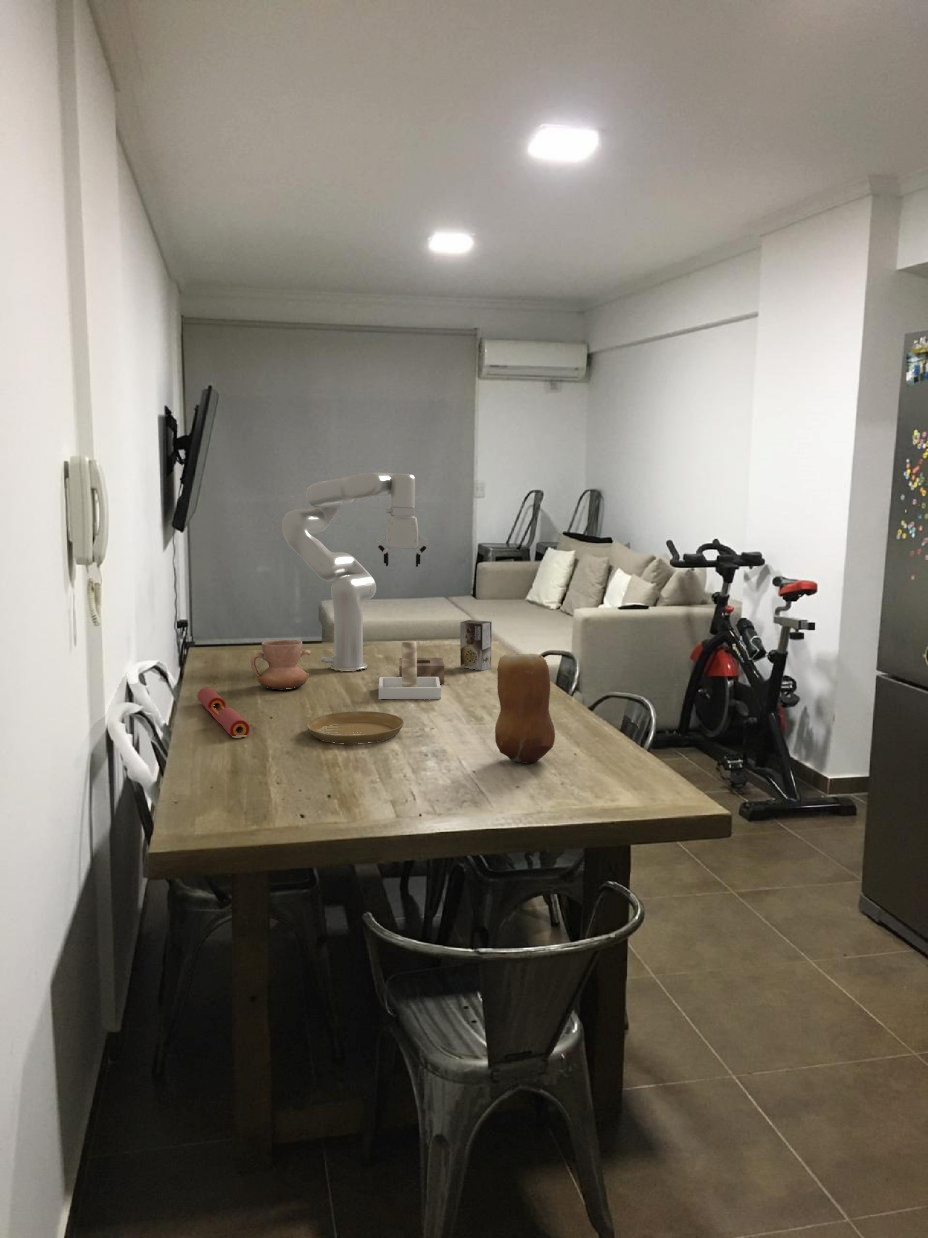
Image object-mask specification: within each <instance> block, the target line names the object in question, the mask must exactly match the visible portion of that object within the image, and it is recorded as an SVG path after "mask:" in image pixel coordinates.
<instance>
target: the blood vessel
mask: <svg viewBox="0 0 928 1238" xmlns="http://www.w3.org/2000/svg"><path fill="white" fill-rule="evenodd" d="M197 700H198V702H199V701H200V702H201V703H202V704H203V705H204V706H205V707H204V706H203V705H202V704H201V703H200V702H199V703H200V704H201V705H202V706H203V707H204V708H205V709H206V711H207V712H208V711H209V712H210V713H211V714H212V715H211V714H210V713H209V712H208V713H209V714H210V715H211V716H212V717H213V718H214V719H215V720H216V722H218V724H219V723H220V724H221V725H222V726H223V727H222V726H221V725H220V724H219V725H220V726H221V727H222V728H223V729H224V730H225V731H226V733H228V735H231V736H236V735H247V734H248V735H249V733H250V731H251V729H250V724H249V723H248V721H247V720H245V719H244V718H243V717H242V716H241V715H240V714H239V713H238V712H237V710H235V709H233V708H232V707H228V706H227V703H226V701H225V700H224V699H223V698H222V697H221V696H220V695H219V694H218V693H217V692H216V691H215V690H214V689H213V688H211V687H208V686H206V687H202V688H200V690H198V693H197ZM213 705H215V706H213ZM215 708H216V709H215ZM231 736H230V737H231Z"/></svg>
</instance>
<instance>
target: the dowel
mask: <svg viewBox="0 0 928 1238" xmlns="http://www.w3.org/2000/svg"><path fill="white" fill-rule="evenodd" d="M417 643H418V642H417V641H415V640H405V641H401V658H402V687H417V658H418V655H417V654H418V653H417V649H418V648H417V646H418V645H417Z"/></svg>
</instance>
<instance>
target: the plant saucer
mask: <svg viewBox="0 0 928 1238" xmlns="http://www.w3.org/2000/svg"><path fill="white" fill-rule="evenodd" d="M404 723H405V721H404V719H403V718H401V717H400V716H398V715H395V714H391V713H387V712H386V713H385V712H382V711H381V712H380V711H371V710H370V711H368V710H367V711H365V710H364V711H363V710H361V711H360V710H359V711H358V710H356V711H353V710H352V711H341V712H333V713H328V714H324V715H320V716H317V717H314V718H312V719H310V720H309V721H308V722H307V724H306V728H307V730H308V731H309V732H310V734H311V735H312V736H313V737H314V738H316V739H318V740H319V739H320V741H322V740H324V741H323V742H325V741H327V742H326V743H329V742H335V743H344V744H343V745H348V744H355V745H359V744H358V743H368V742H376V743H378V742H377V741H381V742H383V741H382V740H384V741H387V740H389V739H391V738H393V737H394V736H396V735H398V733H399V732H401V730H402V728H403V727H404ZM333 724H339V725H333ZM340 724H341V725H340ZM330 725H333V726H341V727H338V728H327V729H338V730H332V731H327V732H338V733H329V734H328V733H327V734H324V733H319V732H316V730H317V729H320V728H322V727H323V726H330ZM342 726H344V727H342ZM345 726H347V727H345ZM349 726H350V727H349ZM352 726H353V727H352ZM325 732H326V731H325ZM346 732H347V733H346ZM349 732H351V733H349ZM353 732H354V733H353ZM357 732H358V733H357ZM360 732H361V733H360ZM331 734H343V735H331ZM345 734H361V735H345ZM363 734H364V735H363ZM386 739H387V740H386ZM335 743H334V744H335Z"/></svg>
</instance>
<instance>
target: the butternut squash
mask: <svg viewBox="0 0 928 1238" xmlns="http://www.w3.org/2000/svg"><path fill="white" fill-rule="evenodd" d="M496 670H497V697H498V701H499V707H500V710H499V715H498V717H497V720H496V722H495V727H494V728H495V730H494V737H495V738H494V739H495V745H496V746H497V748H498V750H499V753H500V754H502V755H504V756H506V757H507V758H508V759H509V760H511V761H514V762H519V763H522V764H527V765H529V764H533V763H537V762H538V761H539V760H541V758H544V756H546V754H547V753H549V751H551V749H552V748H553V747H554V745H555V740H556V731H555V726H554V723H553V720H552V718H551V717H552V716H551V714H550V696H551V675H550V669H549V665H548V662H547V660H546V659H545V657H543V656H542V655H541V654H538V653H512V652H511V653H508V654H507V653H506V654H504V655H502V656H501V657H499V661H498V664H497V668H496Z"/></svg>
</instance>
